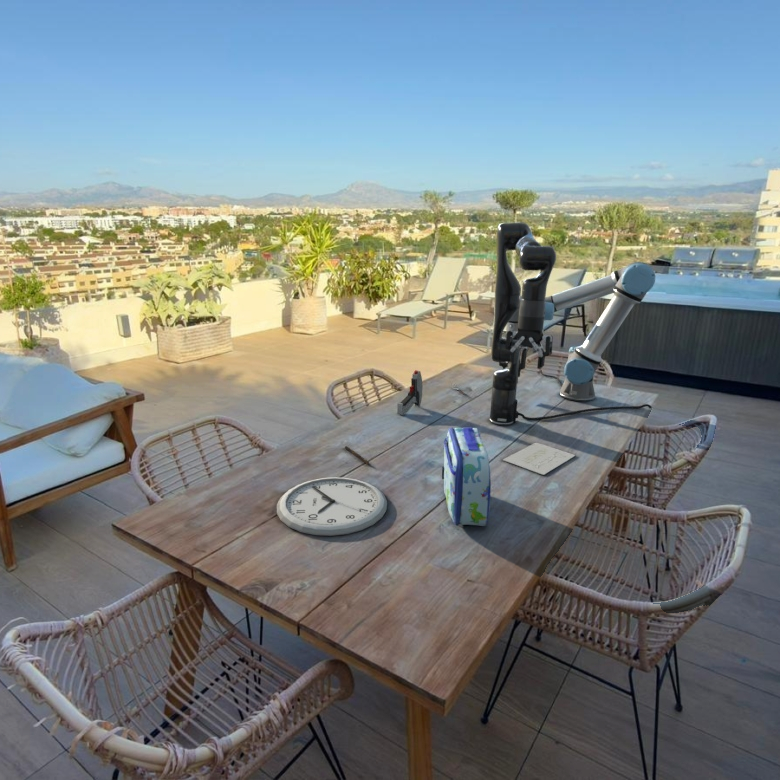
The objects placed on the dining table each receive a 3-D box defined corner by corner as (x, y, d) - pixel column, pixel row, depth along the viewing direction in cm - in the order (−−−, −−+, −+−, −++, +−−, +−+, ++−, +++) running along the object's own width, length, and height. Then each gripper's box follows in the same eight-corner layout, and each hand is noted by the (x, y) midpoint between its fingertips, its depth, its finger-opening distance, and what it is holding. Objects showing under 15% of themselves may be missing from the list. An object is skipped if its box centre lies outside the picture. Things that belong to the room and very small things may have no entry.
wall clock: (392, 527, 129) (268, 531, 127) (391, 533, 130) (269, 537, 127) (383, 473, 158) (282, 475, 155) (383, 478, 158) (282, 480, 156)
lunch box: (439, 484, 155) (443, 418, 149) (476, 485, 155) (480, 418, 149) (448, 533, 130) (452, 456, 124) (491, 534, 130) (497, 457, 124)
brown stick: (344, 448, 179) (344, 445, 179) (346, 448, 179) (346, 445, 179) (367, 464, 167) (367, 462, 167) (368, 464, 167) (368, 461, 167)
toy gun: (396, 378, 207) (417, 368, 219) (397, 416, 213) (418, 404, 224) (401, 379, 206) (422, 369, 217) (402, 417, 212) (422, 405, 223)
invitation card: (535, 442, 186) (575, 454, 176) (535, 442, 187) (575, 455, 176) (502, 459, 172) (543, 474, 162) (502, 460, 172) (543, 475, 162)
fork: (463, 397, 236) (463, 392, 235) (450, 386, 250) (450, 382, 250) (468, 396, 236) (469, 392, 236) (455, 386, 251) (455, 382, 250)
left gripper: (504, 313, 160) (500, 364, 164) (549, 318, 151) (544, 372, 156) (514, 310, 165) (510, 360, 170) (559, 315, 157) (553, 367, 162)
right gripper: (492, 330, 232) (489, 381, 238) (529, 335, 221) (524, 388, 228) (500, 328, 237) (497, 377, 244) (536, 332, 227) (532, 384, 234)
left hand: (526, 365), depth 163 cm, fingers open, 8 cm apart
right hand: (510, 382), depth 236 cm, fingers closed on brick, 4 cm apart
